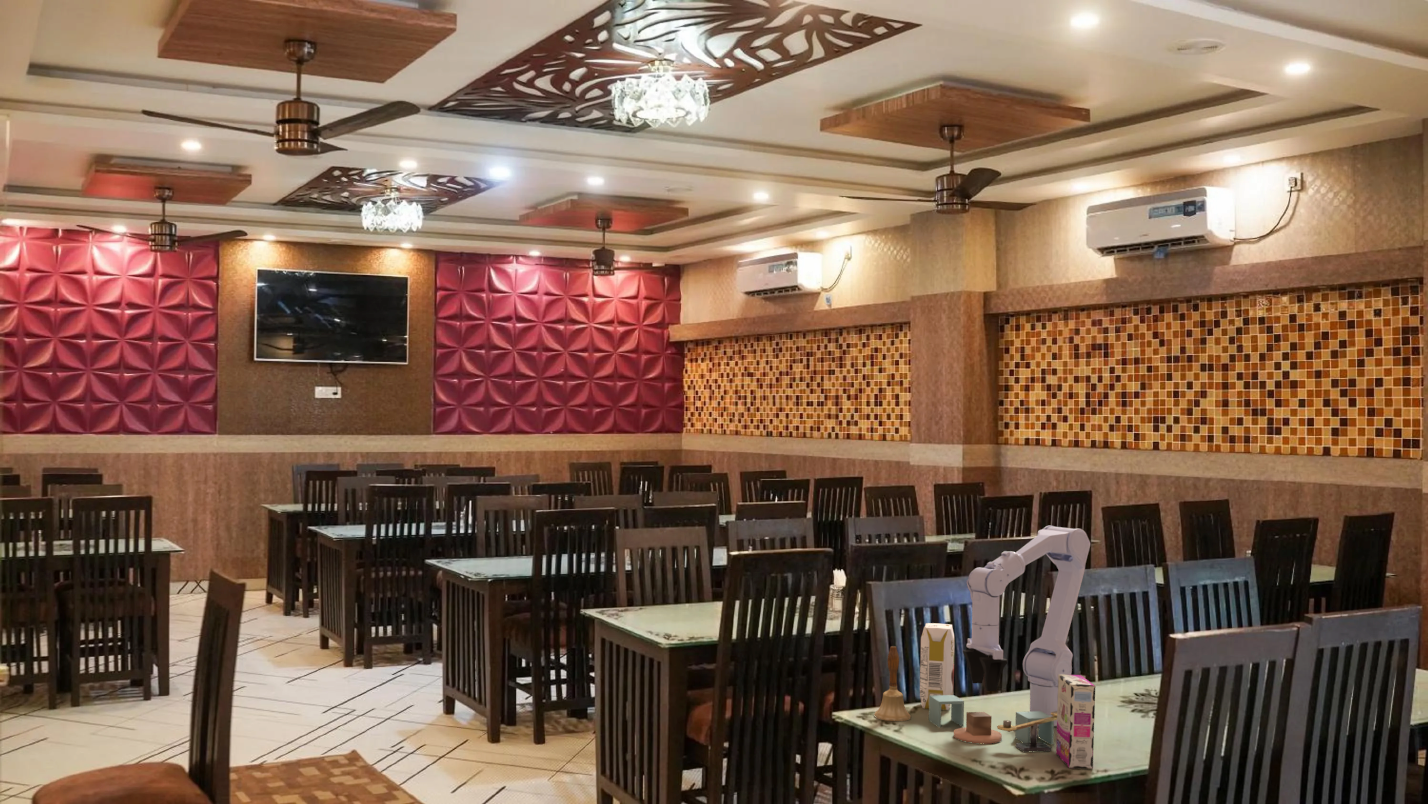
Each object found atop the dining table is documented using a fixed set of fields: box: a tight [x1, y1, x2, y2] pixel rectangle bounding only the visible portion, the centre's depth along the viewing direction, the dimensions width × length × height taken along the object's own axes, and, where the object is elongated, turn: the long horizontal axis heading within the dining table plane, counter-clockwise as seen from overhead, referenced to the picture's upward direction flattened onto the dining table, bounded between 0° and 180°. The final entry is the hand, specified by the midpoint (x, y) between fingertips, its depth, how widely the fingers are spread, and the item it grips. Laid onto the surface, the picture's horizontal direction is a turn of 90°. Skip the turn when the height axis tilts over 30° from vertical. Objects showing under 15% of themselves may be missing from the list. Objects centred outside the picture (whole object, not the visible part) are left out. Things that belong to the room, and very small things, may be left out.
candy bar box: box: [1055, 674, 1096, 770], centre depth 249 cm, size 11×5×16 cm, turn 178°
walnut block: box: [965, 711, 992, 736], centre depth 266 cm, size 4×4×4 cm
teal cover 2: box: [1014, 711, 1055, 745], centre depth 265 cm, size 6×6×6 cm
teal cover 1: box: [928, 694, 965, 728], centre depth 279 cm, size 6×6×6 cm
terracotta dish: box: [953, 726, 1003, 745], centre depth 266 cm, size 10×10×1 cm
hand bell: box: [873, 645, 912, 722], centre depth 284 cm, size 8×8×16 cm
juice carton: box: [919, 622, 955, 711], centre depth 295 cm, size 8×9×19 cm
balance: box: [996, 711, 1057, 753], centre depth 258 cm, size 16×4×7 cm, turn 101°
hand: (984, 686), depth 271 cm, fingers open, 7 cm apart
